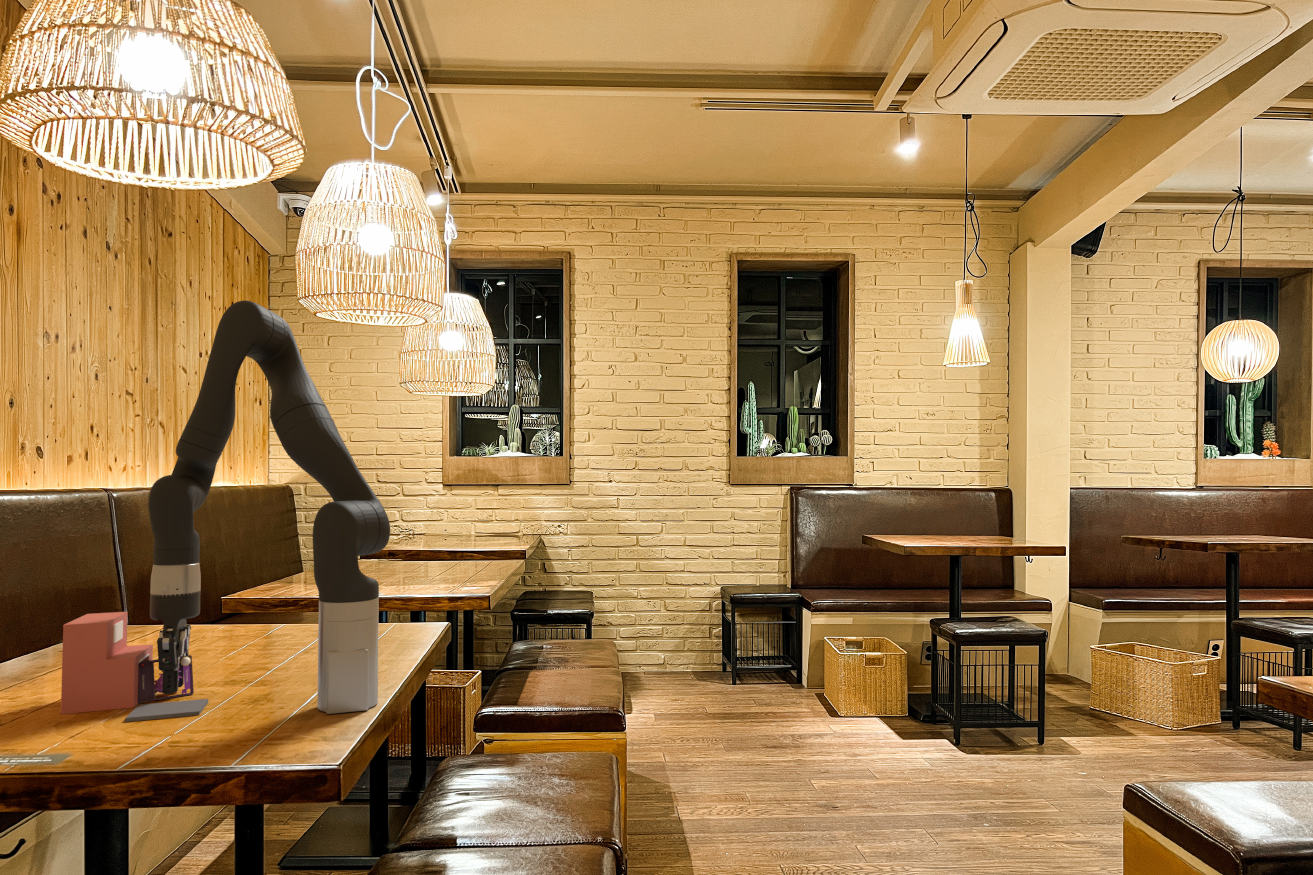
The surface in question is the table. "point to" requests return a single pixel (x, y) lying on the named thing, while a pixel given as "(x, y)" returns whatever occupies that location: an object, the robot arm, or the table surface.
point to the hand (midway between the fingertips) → (173, 689)
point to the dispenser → (100, 664)
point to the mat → (167, 710)
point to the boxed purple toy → (161, 680)
